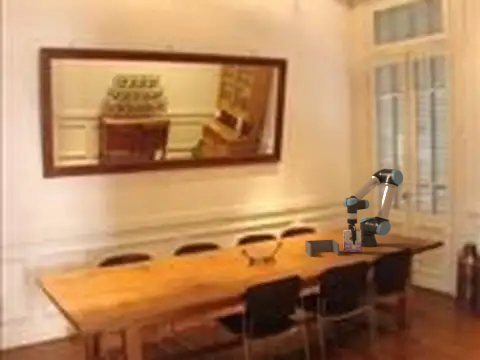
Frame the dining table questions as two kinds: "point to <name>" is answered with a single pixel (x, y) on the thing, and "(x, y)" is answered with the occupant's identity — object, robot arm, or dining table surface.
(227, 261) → the dining table surface
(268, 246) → the dining table surface
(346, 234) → the candy box
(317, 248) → the open box
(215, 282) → the dining table surface
